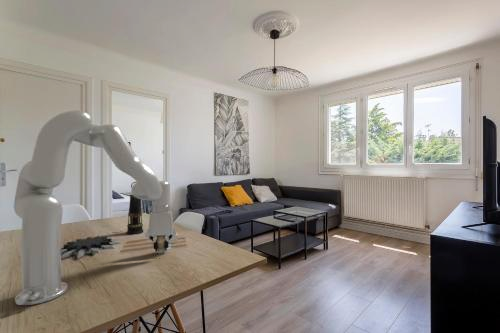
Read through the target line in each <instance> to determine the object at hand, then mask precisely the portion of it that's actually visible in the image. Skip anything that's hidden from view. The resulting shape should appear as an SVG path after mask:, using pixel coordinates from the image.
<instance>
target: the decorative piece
mask: <svg viewBox="0 0 500 333" xmlns="http://www.w3.org/2000/svg"><path fill="white" fill-rule="evenodd" d="M75 240H76V241H73V240H72V241H66V243H64V244H62V246H61V261H62V260H65V259H69V258H70V259H71V258H72V257H74V256H76V258H77V259H78V260H80V259H82V258H84V257H85V256H87V255H88V256H89V255H92V256H94V255H96V254H100V252H101V250H103V249H104V250H113V249H115V247H113V246H115V245H121V244H122V243H121V242H119V239H118V238H111V237H110V236H101V237H100V235H98V236H95V237H93V238H92V237H90V236H88V237H86V238H85V239H82V238H76V239H75Z"/></svg>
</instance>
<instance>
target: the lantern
mask: <svg viewBox="0 0 500 333" xmlns="http://www.w3.org/2000/svg"><path fill="white" fill-rule="evenodd" d="M135 183H137V181H133V182H132V183H130V184H131V185H130V188H131V189H132V187H133V185H134V184H135ZM128 196H129V205H128V208H129V209H128V212H127V217H128V218H127V219H128V220H127V225H126V227H127V231H126V235H129V234H130V235H133V236H134V234H135V235H140V234H142V233H144V229H143V224H144V223H143V217H142V216H143V212H142V199H138V198H136V197H134V196H133V194H132V193H131V194H129V195H128ZM130 235H129V236H130Z"/></svg>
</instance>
